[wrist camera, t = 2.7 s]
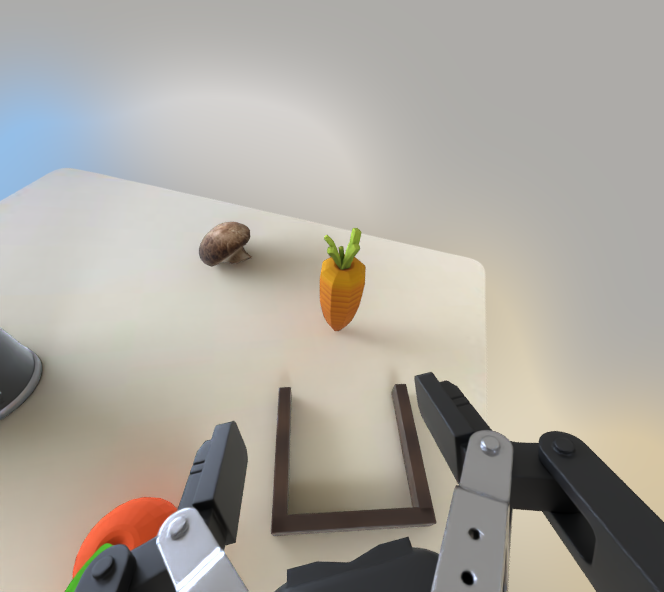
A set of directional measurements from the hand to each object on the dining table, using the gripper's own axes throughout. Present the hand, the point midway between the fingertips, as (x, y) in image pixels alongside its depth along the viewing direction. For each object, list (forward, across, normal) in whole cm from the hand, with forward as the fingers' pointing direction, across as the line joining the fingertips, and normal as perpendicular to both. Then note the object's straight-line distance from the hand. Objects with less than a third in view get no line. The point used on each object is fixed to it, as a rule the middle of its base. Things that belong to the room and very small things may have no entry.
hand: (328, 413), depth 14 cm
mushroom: (+37, +11, 0) cm, 39 cm away
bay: (+13, 0, +16) cm, 20 cm away
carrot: (+25, -2, +9) cm, 27 cm away
